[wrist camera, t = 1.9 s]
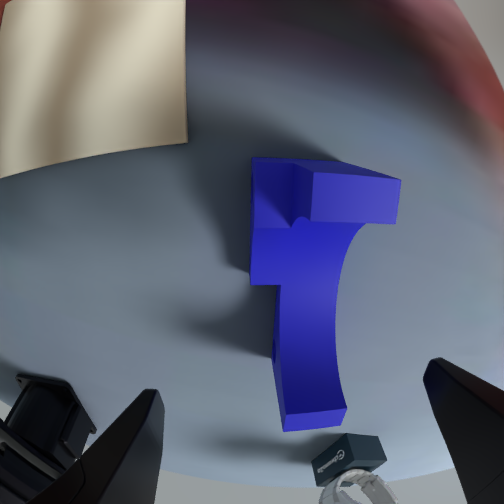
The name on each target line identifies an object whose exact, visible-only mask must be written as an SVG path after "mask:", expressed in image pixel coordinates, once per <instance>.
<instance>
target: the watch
mask: <svg viewBox="0 0 504 504" xmlns="http://www.w3.org/2000/svg"><path fill="white" fill-rule="evenodd" d="M386 461H387V458H386V456H385V453H384V451H383V448H382V446H381V443H380V441H379V438H378V436H367V435H357V434H348V433H346V434H345V435H344V436H342V437H341V438H340V439H339V440H338V441H337V442H335V443H334V444H333V445H332V446H331V447H329V448H328V449H327V450H326V451H324V452H323V453H322V454H321V455H319V456H318V457H317V458H316V459H314V460H313V461H312V467H313V471H314V476H315V481H316V485H317V486H318V487H325V489H323V491H322V493H321V496H320V499H319V504H361V503H360V502H357V501H355V500H353V499H351V498H350V497H349V496H348V495H347V494H346V492H344V491H343V490H342V491H340V492H339V489H340V488H339V487H348V486H349V487H350V486H351V485H353V484H354V483H355V484H358V485H359V486H361V487H362V488H361V490H362V491H363V492H364V493H365V494H366V495H367V497H368V498H369V499H370V500H371V502H372V503H373V504H398V503H397V497H396V496H395V494H394V493H393V491H392V490H391V489H390V487H389V486H388V485H387V484H386V482H385V481H383V480H382V479H381V478H380V477H379V476H378V475H374V474H371V472H372V471H374V470H375V469H376V468H378V467H379V466H380V465H382V464H383V463H384V462H386Z"/></svg>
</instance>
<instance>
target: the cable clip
mask: <svg viewBox="0 0 504 504" xmlns="http://www.w3.org/2000/svg"><path fill="white" fill-rule="evenodd" d="M400 187H401V180H400V179H397V178H394V177H391V176H388V175H385V174H382V173H378V172H375V171H372V170H369V169H365V168H362V167H358V166H355V165H351V164H348V163H344V162H336V161H323V160H308V159H289V158H262V157H252V171H251V217H250V265H249V275H250V285H277V290H276V305H275V319H274V333H273V346H272V358H271V359H272V365H273V372H274V378H275V384H276V390H277V397H278V403H279V409H280V416H281V422H282V429H283V432H288V431H299V430H309V429H318V428H326V427H333V426H340V425H341V423H342V421H343V418H344V416H345V413H346V410H347V406H346V403H345V399H344V396H343V392H342V388H341V383H340V378H339V372H338V365H337V356H336V342H335V314H336V300H337V291H338V284H339V278H340V273H341V269H342V265H343V261H344V258H345V255H346V252H347V249H348V247H349V245H350V243H351V241H352V239H353V237H354V236H355V234H356V233H357V231H358V230H359V229H360V228H361V227H362V226H363V225H365V224H366V223H377V224H396V218H397V211H398V203H399V195H400Z"/></svg>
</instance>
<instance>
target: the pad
mask: <svg viewBox="0 0 504 504" xmlns="http://www.w3.org/2000/svg"><path fill="white" fill-rule="evenodd" d="M185 1H186V0H12V1H10V2H9V3H7V4H6V5H5V9H4V13H3V18H2V23H1V29H0V178H3V177H6V176H10V175H13V174H17V173H20V172H24V171H28V170H32V169H35V168H39V167H44V166H48V165H52V164H56V163H61V162H65V161H70V160H74V159H79V158H84V157H90V156H95V155H100V154H106V153H112V152H118V151H124V150H131V149H138V148H145V147H153V146H161V145H170V144H179V143H188V126H187V104H186V70H185Z"/></svg>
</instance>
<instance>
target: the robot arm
mask: <svg viewBox="0 0 504 504" xmlns="http://www.w3.org/2000/svg"><path fill="white" fill-rule="evenodd" d="M15 379H16V381H17V382H18V384H19V386H20V387H21V389H22V390H23V391H22V392H21V394H20V395H19V397H18V399H17V400H16V402H15V404H14V405H13V407H12V409H11V411H10V412H9V414H8V416H7V418H6V420H5V421H4V422H3V420H2V419H1V418H0V504H154V501H155V495H156V488H157V482H158V476H159V470H160V464H161V458H162V450H163V431H164V414H165V409H164V404H163V402H162V399H161V396H160V393H159V391H158V390H157V389H145V390H143V391H142V392H141V393H140V394H139V395H138V397H137V398H136V399H135V400H134V401H133V402H132V403H131V404H130V405H129V406H128V407H127V408H126V409H125V410H124V411H123V412H122V414H121V415H120V416H119V417H118V418H117V419H116V420H115V421H114V422H113V423H112V424H111V425H110V426H109V427H108V428H107V429H106V430H105V431H104V432H103V433H102V435H101V436H100V437H99V438H98V439H97V440H96V441H95V442H94V443H93V444H92V445H91V446H90V447H89V448H88V449H87V450H86V451H85V452H84V453H83V455H82V452H83V449H84V446H85V443H86V441H87V438H88V435H89V433H91V434H95V433H96V431H97V429H96V427H95V425H94V424H93V422H92V421H91V419H90V417H89V416H88V414H87V413H86V411H85V409H84V408H83V406H82V404H81V402H80V401H79V399H78V397H77V395H76V394H75V392H74V390H73V388H72V387H71V386H70V385H69V384H67V383H64V382H58V381H52V380H46V379H41V378H36V377H31V376H27V375H22V374H17V376H16V377H15ZM423 382H424V386H425V389H426V392H427V395H428V398H429V401H430V404H431V407H432V410H433V413H434V416H435V419H436V421H437V423H438V426H439V428H440V431H441V433H442V435H443V438H444V440H445V443H446V445H447V448H448V450H449V453H450V455H451V458H452V461H453V463H454V466H455V468H456V471H457V474H458V477H459V480H460V483H461V485H462V488H463V491H464V494H465V497H466V500H467V504H504V391H503V390H501V389H499V388H497V387H495V386H494V385H492V384H490V383H488V382H486V381H484V380H482V379H480V378H479V377H477V376H475V375H473V374H471V373H469V372H467V371H465V370H464V369H462V368H460V367H458V366H456V365H454V364H452V363H451V362H449V361H447V360H445V359H443V358H441V357H439V358H435V359H432V360H430V361H429V363H428V366H427V368H426V371H425V373H424V376H423ZM76 459H77V460H76ZM75 460H76V461H75Z"/></svg>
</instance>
